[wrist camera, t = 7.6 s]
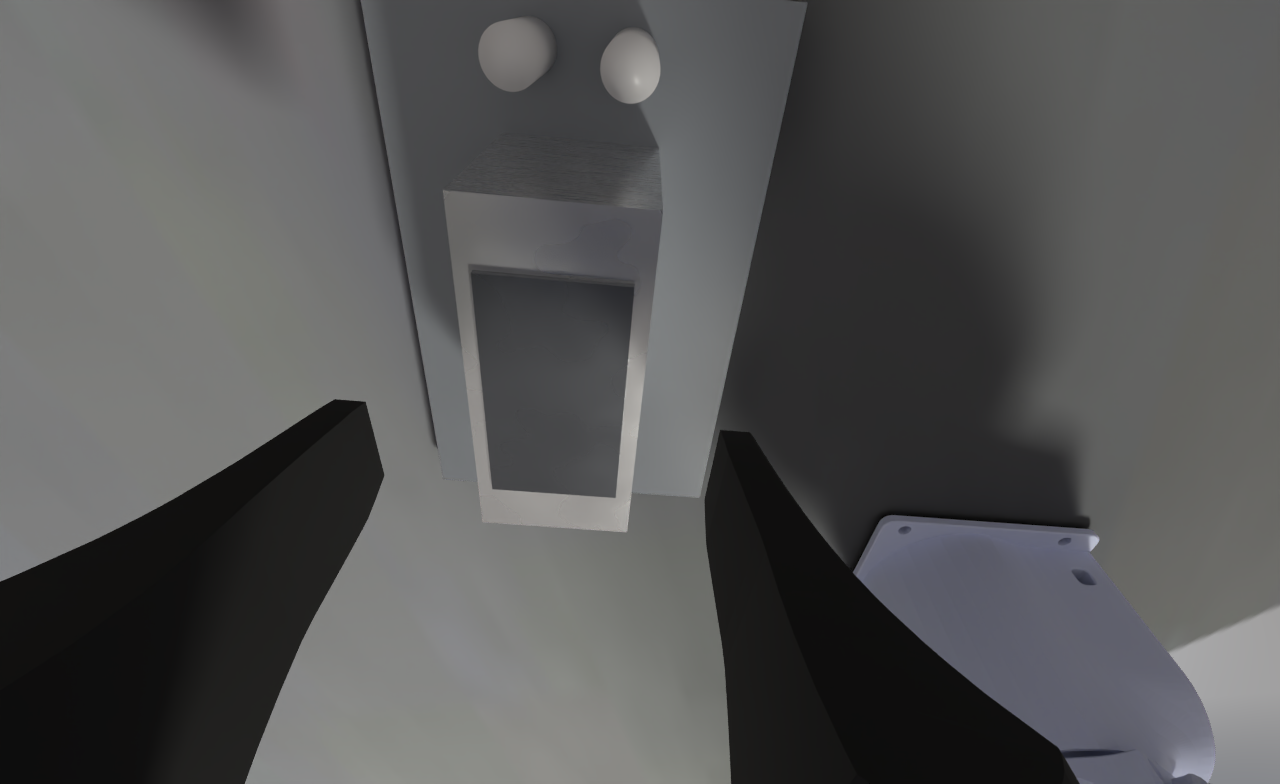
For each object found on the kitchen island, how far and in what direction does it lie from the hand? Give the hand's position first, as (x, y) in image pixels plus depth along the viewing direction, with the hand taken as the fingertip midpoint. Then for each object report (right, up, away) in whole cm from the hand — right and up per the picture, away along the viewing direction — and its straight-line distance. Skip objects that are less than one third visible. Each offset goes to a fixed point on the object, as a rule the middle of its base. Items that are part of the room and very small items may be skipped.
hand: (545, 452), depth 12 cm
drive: (0, +4, +5) cm, 7 cm away
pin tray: (0, +5, +6) cm, 8 cm away
